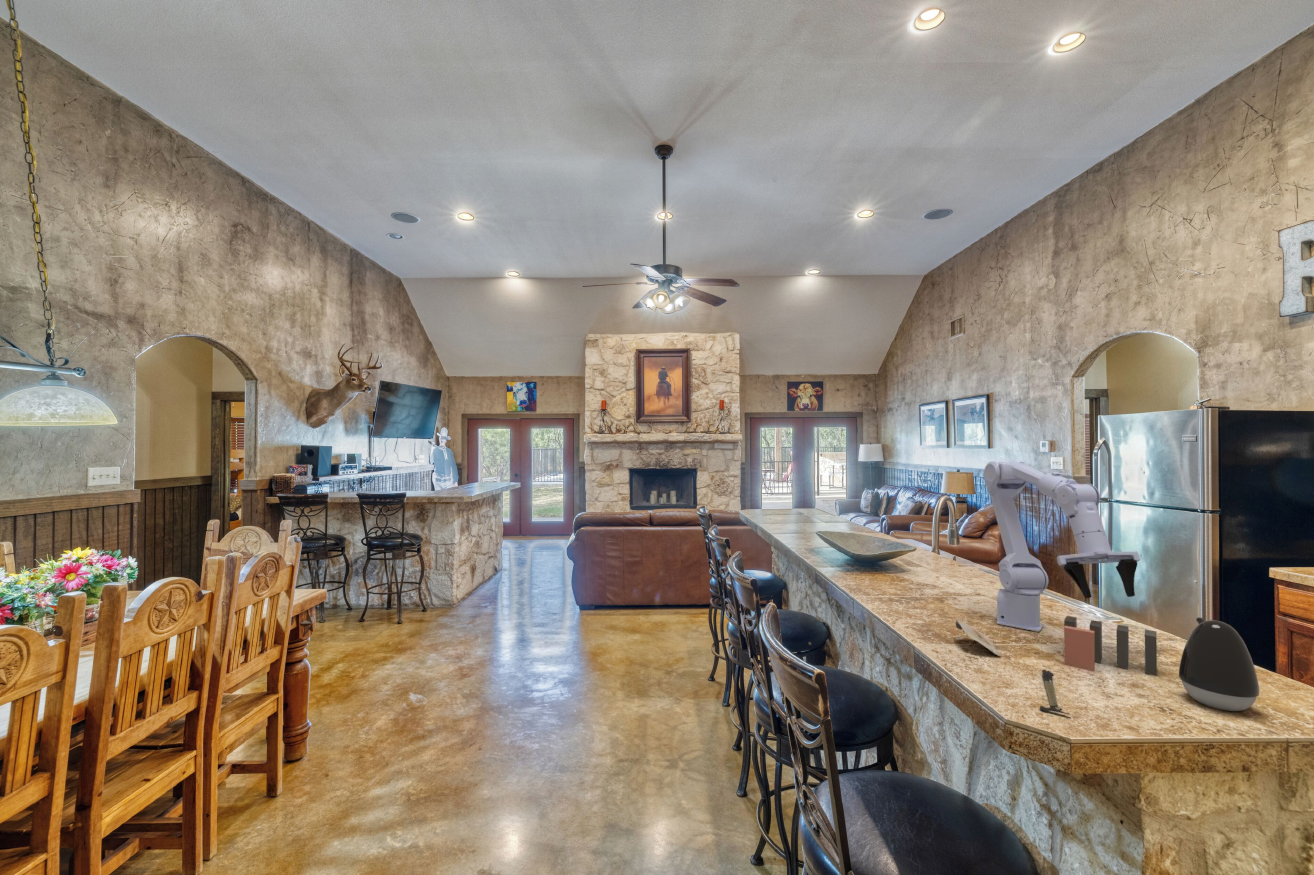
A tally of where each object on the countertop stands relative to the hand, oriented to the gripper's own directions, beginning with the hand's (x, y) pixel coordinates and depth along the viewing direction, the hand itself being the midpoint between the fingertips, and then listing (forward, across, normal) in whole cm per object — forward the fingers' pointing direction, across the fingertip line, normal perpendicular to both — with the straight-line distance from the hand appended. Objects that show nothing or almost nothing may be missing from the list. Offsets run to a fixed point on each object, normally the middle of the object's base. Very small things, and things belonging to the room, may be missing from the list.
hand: (1109, 597), depth 116 cm
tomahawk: (+20, -18, -15) cm, 30 cm away
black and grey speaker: (+20, +8, -8) cm, 23 cm away
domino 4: (+15, +5, +6) cm, 16 cm away
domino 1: (+11, -8, +10) cm, 17 cm away
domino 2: (+12, -3, +8) cm, 15 cm away
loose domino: (+14, -8, +2) cm, 16 cm away
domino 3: (+14, +1, +7) cm, 15 cm away
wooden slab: (+10, -26, +5) cm, 29 cm away
